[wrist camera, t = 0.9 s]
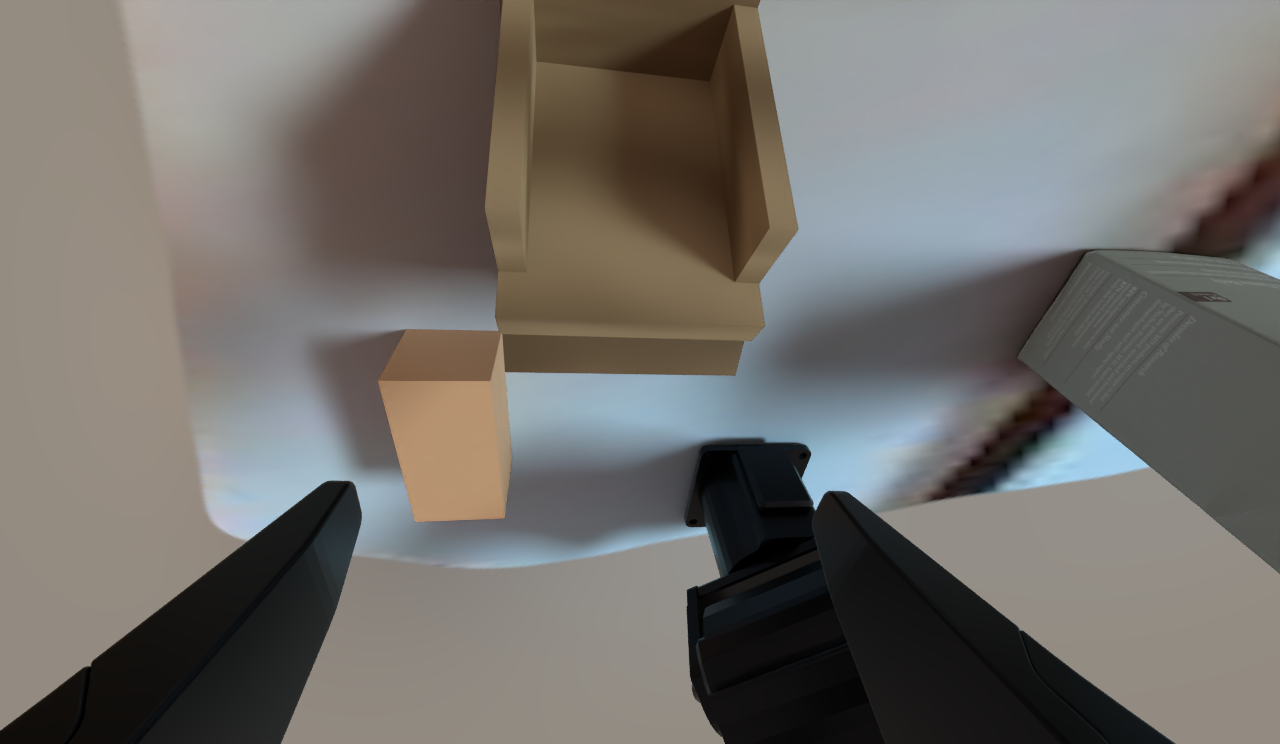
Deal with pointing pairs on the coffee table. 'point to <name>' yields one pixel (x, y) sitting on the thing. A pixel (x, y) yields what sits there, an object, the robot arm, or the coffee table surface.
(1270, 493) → the skincare box
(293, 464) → the coffee table surface
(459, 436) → the peg
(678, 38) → the cradle
